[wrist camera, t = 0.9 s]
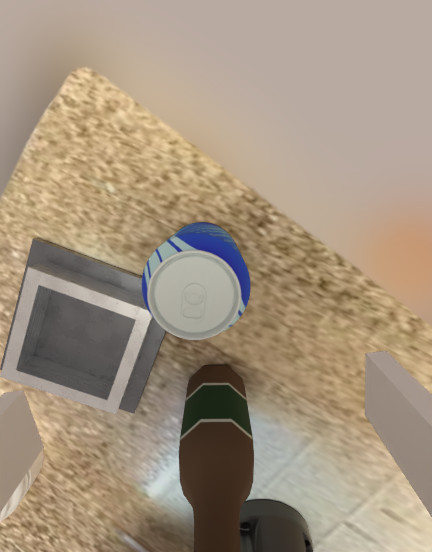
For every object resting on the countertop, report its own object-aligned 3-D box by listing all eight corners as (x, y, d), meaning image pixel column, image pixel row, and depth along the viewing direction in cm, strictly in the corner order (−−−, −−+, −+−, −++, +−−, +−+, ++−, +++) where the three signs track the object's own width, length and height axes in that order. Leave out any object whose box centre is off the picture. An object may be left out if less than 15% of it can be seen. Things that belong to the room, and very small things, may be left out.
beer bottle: (177, 373, 40) (127, 607, 17) (231, 352, 40) (256, 566, 16) (201, 420, 42) (184, 689, 19) (253, 400, 42) (303, 655, 18)
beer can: (153, 255, 37) (108, 294, 21) (203, 206, 35) (195, 209, 20) (202, 303, 38) (193, 373, 23) (252, 258, 37) (279, 299, 21)
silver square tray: (136, 408, 42) (126, 432, 37) (5, 365, 40) (-21, 385, 36) (180, 290, 38) (176, 302, 33) (37, 237, 36) (13, 242, 32)
